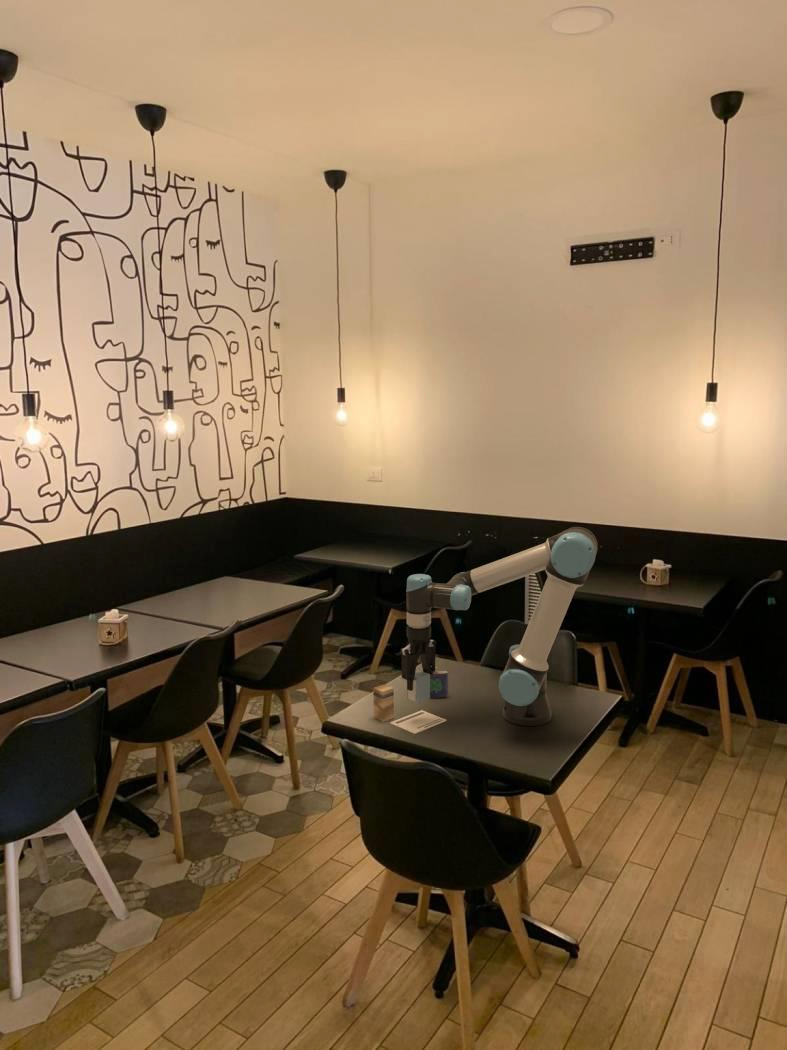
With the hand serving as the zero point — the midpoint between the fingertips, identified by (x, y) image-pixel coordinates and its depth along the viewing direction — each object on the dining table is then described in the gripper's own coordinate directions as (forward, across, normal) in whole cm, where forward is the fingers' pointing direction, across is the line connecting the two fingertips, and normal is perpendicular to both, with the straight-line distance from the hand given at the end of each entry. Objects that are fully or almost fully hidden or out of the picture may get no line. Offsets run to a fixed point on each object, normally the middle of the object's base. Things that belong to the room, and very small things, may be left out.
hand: (418, 697), depth 245 cm
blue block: (+1, 0, 0) cm, 1 cm away
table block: (+8, -6, +10) cm, 14 cm away
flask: (+8, +18, +11) cm, 23 cm away
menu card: (+8, 0, 0) cm, 8 cm away
